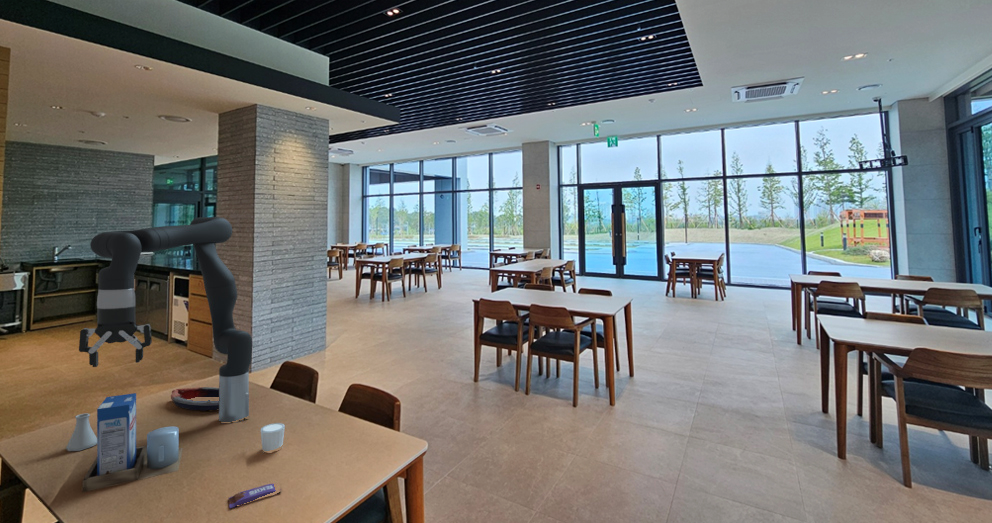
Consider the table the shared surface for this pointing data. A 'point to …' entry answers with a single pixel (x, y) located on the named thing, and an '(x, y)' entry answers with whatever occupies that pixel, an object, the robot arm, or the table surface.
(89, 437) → the flask
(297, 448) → the table surface
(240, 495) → the snack package
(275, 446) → the shot glass
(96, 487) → the caddy
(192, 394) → the dish
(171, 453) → the pale blue rounded block
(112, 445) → the milk carton
